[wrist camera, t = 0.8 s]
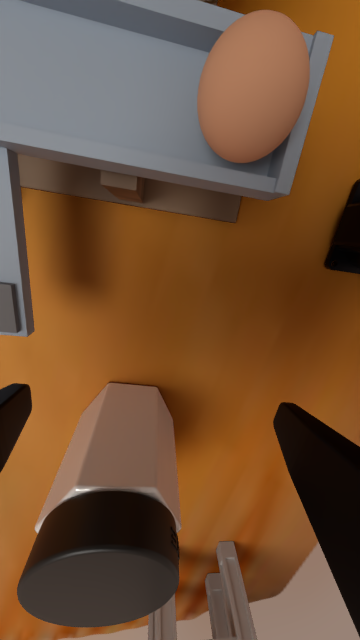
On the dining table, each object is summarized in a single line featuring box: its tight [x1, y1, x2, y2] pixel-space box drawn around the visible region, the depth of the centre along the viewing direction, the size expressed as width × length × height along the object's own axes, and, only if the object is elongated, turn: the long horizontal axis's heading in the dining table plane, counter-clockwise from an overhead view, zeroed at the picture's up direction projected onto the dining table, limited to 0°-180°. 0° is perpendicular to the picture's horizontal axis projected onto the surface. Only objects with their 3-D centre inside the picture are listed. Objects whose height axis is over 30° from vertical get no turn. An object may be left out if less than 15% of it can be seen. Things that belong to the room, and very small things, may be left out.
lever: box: [0, 0, 334, 337], centre depth 9 cm, size 14×13×2 cm
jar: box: [17, 383, 181, 627], centre depth 17 cm, size 9×8×12 cm
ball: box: [197, 10, 310, 163], centre depth 7 cm, size 3×3×3 cm
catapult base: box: [17, 154, 241, 223], centre depth 12 cm, size 15×6×6 cm, turn 81°
